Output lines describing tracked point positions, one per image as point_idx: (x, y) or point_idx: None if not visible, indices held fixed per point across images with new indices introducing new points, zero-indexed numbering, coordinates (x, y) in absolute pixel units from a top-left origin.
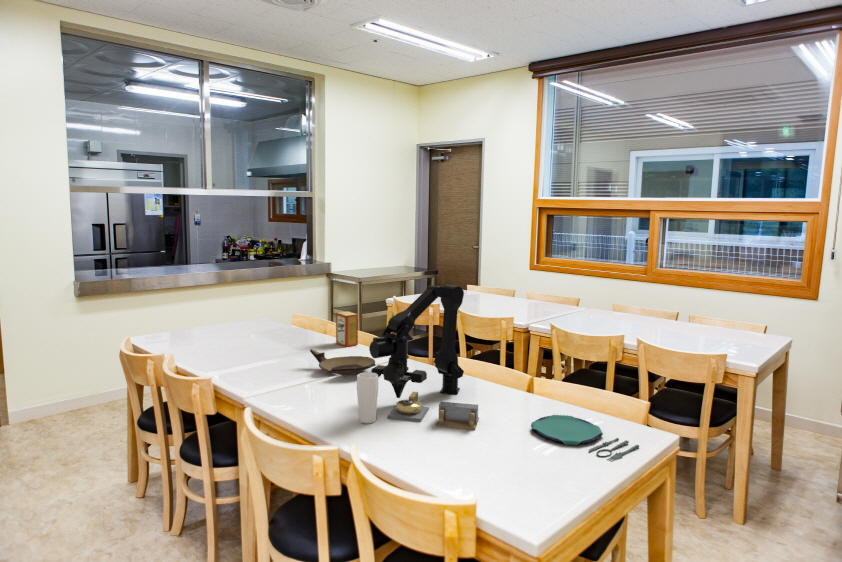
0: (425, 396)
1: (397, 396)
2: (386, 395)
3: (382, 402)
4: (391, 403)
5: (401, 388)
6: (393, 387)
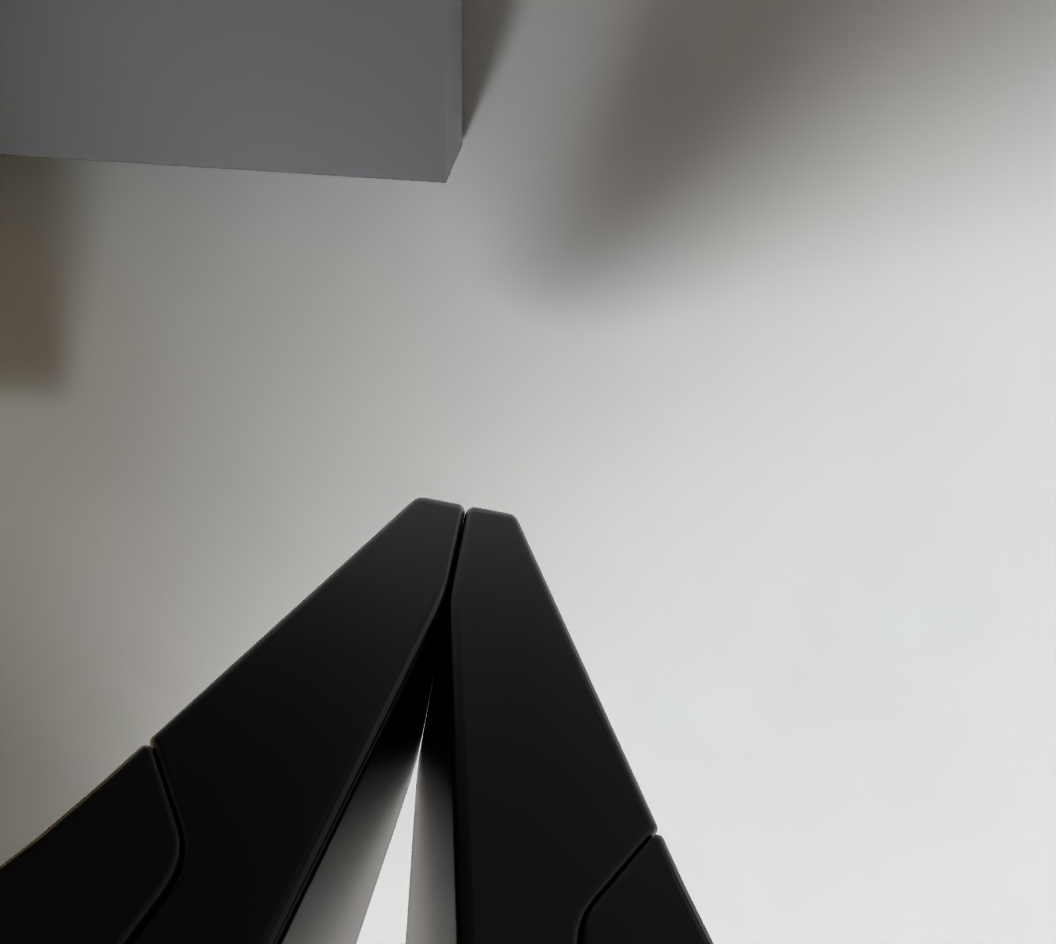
0: None
1: (474, 543)
2: (929, 875)
3: (1052, 451)
4: (729, 419)
5: (51, 850)
6: (680, 935)
